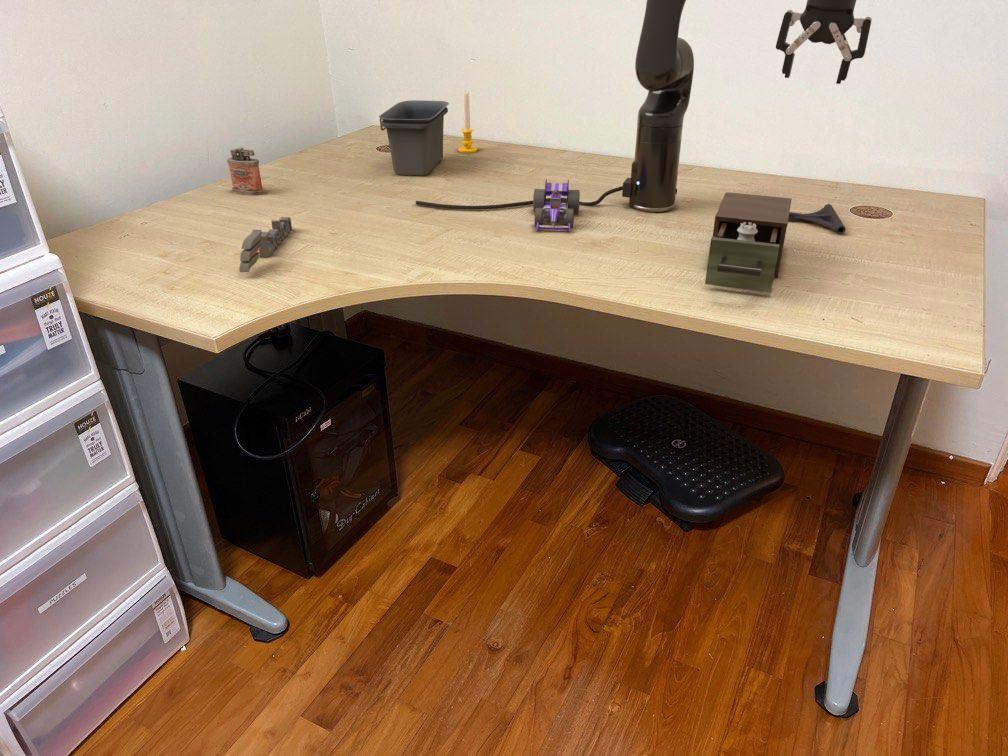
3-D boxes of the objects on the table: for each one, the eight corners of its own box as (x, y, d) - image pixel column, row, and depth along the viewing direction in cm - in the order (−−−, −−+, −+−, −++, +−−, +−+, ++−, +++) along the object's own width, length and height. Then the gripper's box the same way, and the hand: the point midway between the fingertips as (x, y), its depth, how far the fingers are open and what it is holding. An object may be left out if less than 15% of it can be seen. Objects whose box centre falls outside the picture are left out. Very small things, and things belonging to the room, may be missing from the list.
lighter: (229, 192, 176) (221, 148, 171) (239, 188, 179) (230, 145, 174) (258, 195, 174) (250, 151, 168) (267, 191, 176) (259, 148, 171)
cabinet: (777, 278, 130) (787, 223, 125) (708, 269, 133) (715, 216, 128) (782, 249, 141) (791, 198, 137) (718, 241, 145) (725, 192, 140)
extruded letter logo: (249, 278, 132) (243, 247, 129) (240, 278, 132) (234, 247, 129) (292, 229, 153) (288, 202, 150) (284, 229, 153) (280, 202, 150)
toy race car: (528, 231, 151) (529, 199, 147) (534, 208, 164) (534, 178, 160) (577, 233, 150) (578, 200, 147) (579, 209, 163) (580, 179, 159)
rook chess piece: (723, 266, 129) (730, 220, 125) (749, 265, 129) (756, 219, 125) (732, 276, 125) (739, 230, 121) (759, 275, 125) (767, 228, 121)
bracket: (757, 208, 162) (759, 195, 161) (831, 211, 160) (833, 198, 158) (764, 231, 150) (767, 217, 149) (844, 235, 148) (847, 221, 146)
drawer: (768, 305, 118) (777, 257, 114) (700, 296, 121) (706, 249, 117) (776, 263, 133) (784, 220, 129) (715, 256, 136) (721, 213, 132)
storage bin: (434, 179, 183) (430, 118, 176) (372, 177, 186) (366, 116, 179) (454, 157, 201) (452, 101, 194) (398, 155, 204) (393, 99, 197)
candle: (456, 152, 206) (454, 92, 198) (460, 148, 210) (458, 88, 203) (475, 153, 205) (473, 92, 197) (479, 148, 210) (477, 88, 202)
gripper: (886, -25, 123) (857, 80, 133) (795, -31, 128) (773, 70, 137) (884, -19, 118) (854, 90, 127) (789, -26, 122) (767, 79, 132)
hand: (812, 79), depth 132 cm, fingers open, 8 cm apart
